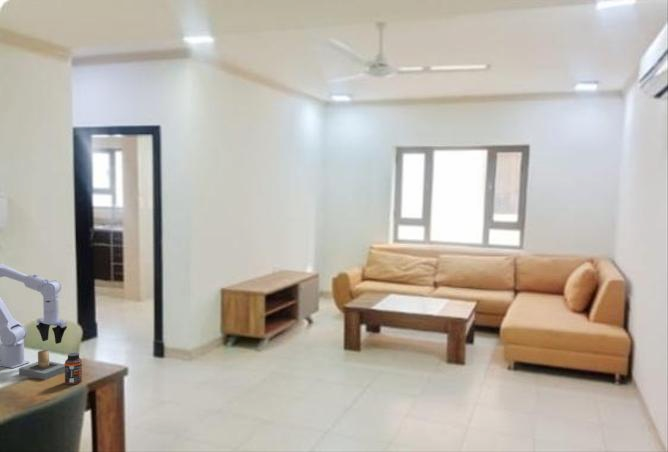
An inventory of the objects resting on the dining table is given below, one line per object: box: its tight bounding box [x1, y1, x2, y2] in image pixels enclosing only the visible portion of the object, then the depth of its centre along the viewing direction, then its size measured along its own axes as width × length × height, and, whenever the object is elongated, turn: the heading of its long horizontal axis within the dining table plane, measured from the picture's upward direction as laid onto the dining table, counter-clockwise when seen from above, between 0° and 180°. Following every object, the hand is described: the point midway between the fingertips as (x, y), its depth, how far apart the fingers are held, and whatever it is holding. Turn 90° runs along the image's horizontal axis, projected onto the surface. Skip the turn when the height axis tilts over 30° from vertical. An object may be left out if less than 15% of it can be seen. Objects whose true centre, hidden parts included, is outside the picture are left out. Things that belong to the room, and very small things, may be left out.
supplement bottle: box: [64, 352, 83, 386], centre depth 206 cm, size 6×6×11 cm
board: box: [18, 360, 65, 381], centre depth 216 cm, size 14×11×3 cm
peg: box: [37, 349, 50, 369], centre depth 216 cm, size 4×4×8 cm
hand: (51, 341), depth 224 cm, fingers open, 7 cm apart
